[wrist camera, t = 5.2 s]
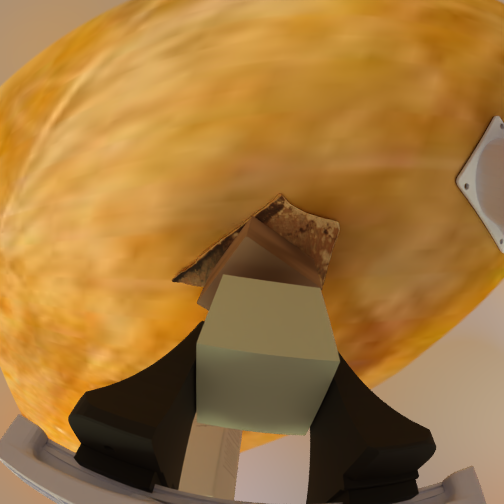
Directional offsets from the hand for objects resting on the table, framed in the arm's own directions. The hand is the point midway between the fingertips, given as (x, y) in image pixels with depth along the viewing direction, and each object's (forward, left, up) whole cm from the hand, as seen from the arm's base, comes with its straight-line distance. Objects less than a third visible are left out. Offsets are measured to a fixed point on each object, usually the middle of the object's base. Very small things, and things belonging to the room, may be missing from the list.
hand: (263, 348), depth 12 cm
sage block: (0, 0, -2) cm, 2 cm away
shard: (0, 0, -10) cm, 10 cm away
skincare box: (-5, +16, -9) cm, 19 cm away
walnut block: (+1, 0, -8) cm, 8 cm away
